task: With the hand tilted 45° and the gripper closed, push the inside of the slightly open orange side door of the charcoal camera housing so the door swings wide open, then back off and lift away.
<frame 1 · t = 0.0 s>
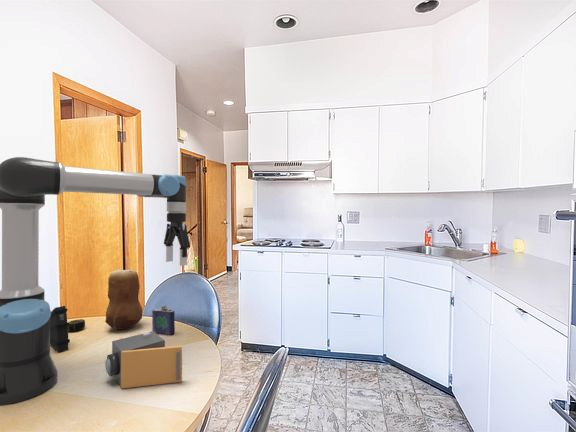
hand: (176, 263, 129), 28 cm above the table, fingers open, 13 cm apart
tape measure: (73, 330, 128), on the table
black upright slab: (58, 346, 113), on the table
side door: (152, 367, 87), point 5 cm above the table, hinge at 30.0°, touching camera housing
flask: (163, 334, 125), on the table
butternut squash: (124, 328, 131), on the table
camera housing: (138, 373, 94), on the table
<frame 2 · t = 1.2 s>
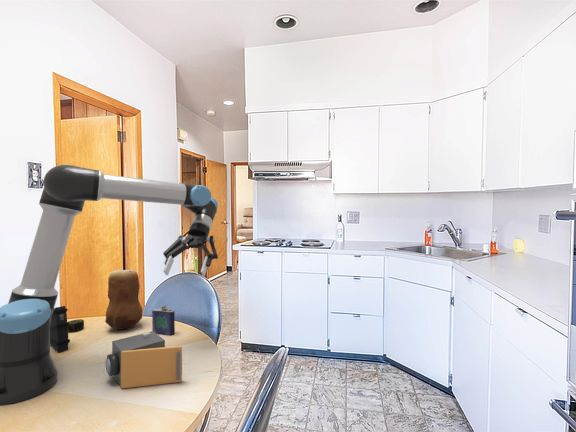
hand: (183, 273, 108), 28 cm above the table, fingers open, 13 cm apart
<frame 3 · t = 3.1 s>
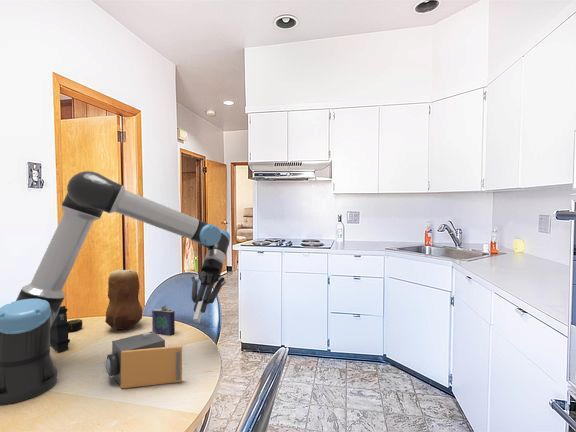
hand: (196, 320, 104), 13 cm above the table, fingers closed
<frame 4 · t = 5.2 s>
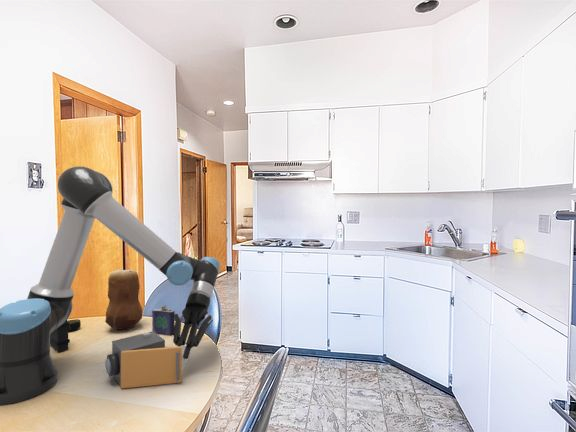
hand: (177, 369, 91), 3 cm above the table, fingers closed
side door: (151, 367, 87), point 5 cm above the table, hinge at 31.4°, touching camera housing, gripper
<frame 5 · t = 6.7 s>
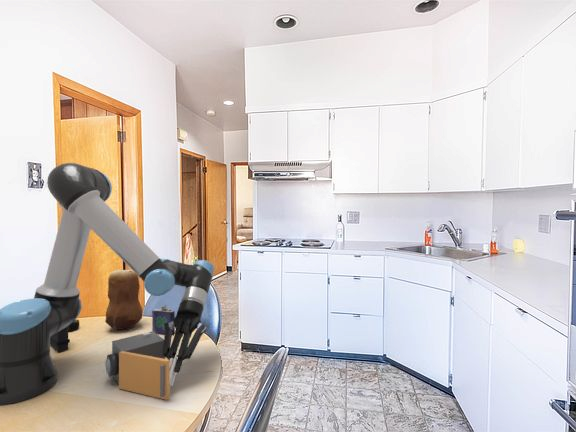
hand: (167, 384, 83), 3 cm above the table, fingers closed
side door: (142, 375, 83), point 5 cm above the table, hinge at 61.8°, touching camera housing, gripper
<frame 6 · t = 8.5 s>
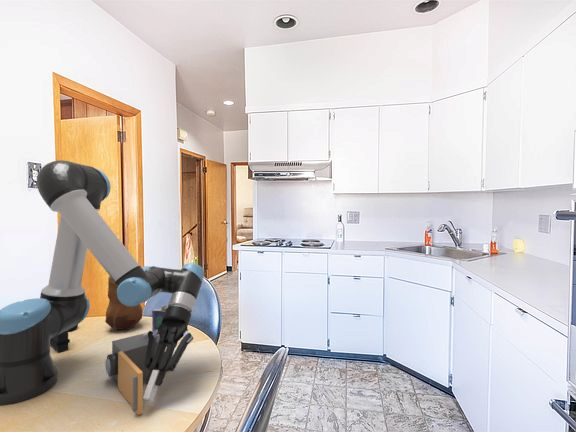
hand: (147, 399, 76), 3 cm above the table, fingers closed
side door: (127, 381, 80), point 5 cm above the table, hinge at 89.3°, touching gripper
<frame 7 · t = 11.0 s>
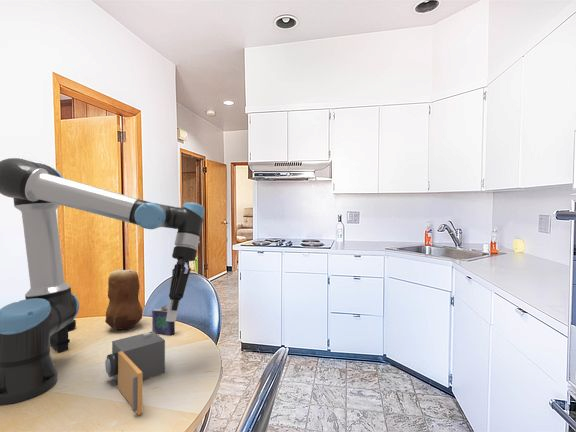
hand: (170, 321, 97), 15 cm above the table, fingers closed
side door: (127, 381, 80), point 5 cm above the table, hinge at 89.5°
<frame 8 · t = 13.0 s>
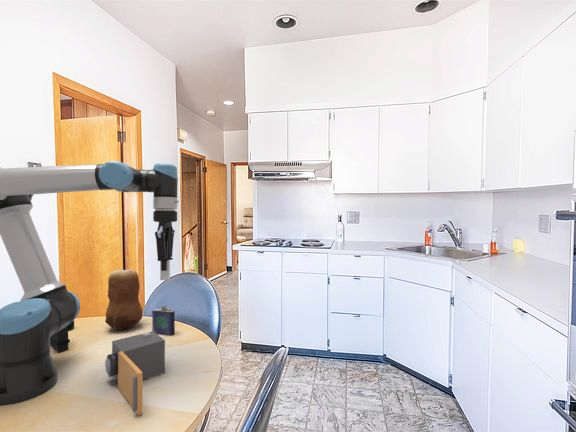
hand: (165, 279, 104), 26 cm above the table, fingers closed
at the end: side door at +90° (first picture: +30°); the gripper is holding nothing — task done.
